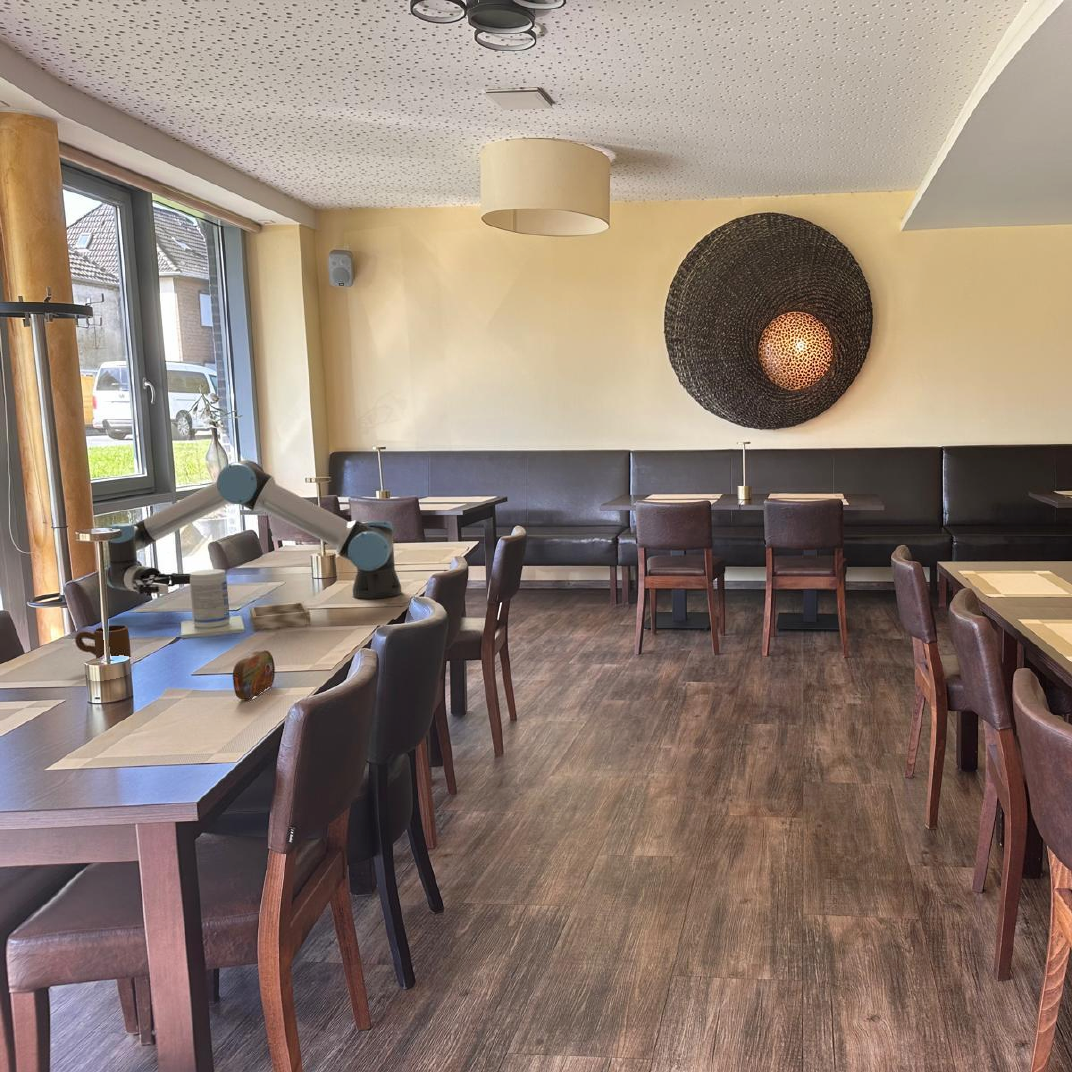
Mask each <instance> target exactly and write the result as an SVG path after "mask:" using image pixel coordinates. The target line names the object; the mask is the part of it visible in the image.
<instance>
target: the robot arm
mask: <svg viewBox="0 0 1072 1072" xmlns="http://www.w3.org/2000/svg"><path fill="white" fill-rule="evenodd" d="M228 504H231V505H240V506H243V507H244V508H246V509H249V510H250V511H252V512H259V511H264V512H265V513H268V514H269V515H271V516H274V517H275V518H278V519H279V520H281V521H284V522H286V523H287V524H289V525H291V526H293V527H295V528H297V529H299V530H301V531H302V532H305V533H307V534H308V535H311V536H312V537H314V538H316V539H319V540H320V541H322V542H324V543H326V544H328V545H330V546H332V547H333V548H335V549H336V553H337V555H338V556H341V557H342V558H344V559H346V560H348V561H349V562H350V563H352V565H353V566H355V567H356V574H355V579H354V581H353V582H354V583H353V586H352V596H353V597H354V598H356V599H366V600H367V599H368V600H371V599H385V598H392V597H395V596H396V597H397V596H399V595H401V594H402V584H401V582H400V579H399V577H398V574H397V571H396V567H395V551H394V547H395V546H394V529H393V524H392V522H391V521H389V520H388V521H386V520H385V521H383V520H382V521H381V520H380V521H364V522H363V521H362V522H361V521H359V520H357V519H356V520H355V519H354V520H352V521H348V520H346V519H344V518H343V517H341V516H338V515H337V514H334V513H332V512H330V511H329V510H327V509H325V508H323V507H321V506H319V505H317V504H315V503H314V502H311V501H310V500H308V499H305V498H304V497H302V496H299V495H298V494H296V493H294V492H293V491H291V490H289V489H286V488H285V487H283V486H280V485H278V484H277V483H276V481H275V478H274V476H272V475H270V474H269V473H267V472H265V470H264V469H263V467H262V466H261V465H260V464H259V463H257V462H255V461H253V460H247V459H246V460H240V461H236V462H231V463H229V464H227V465H225V467H223V468H222V469H221V470H220V471H219V474H218V476H217V478H216V481H215V482H213V483H211V484H209V485H207V486H205V487H204V488H202V489H200V490H197V491H196V492H194V493H192V494H190V495H188V496H186V497H184V498H182V499H180V500H179V501H177V502H174V503H173V504H171V505H169V506H167V507H165V508H163V509H161V510H159V511H158V512H155V513H154V514H151V515H150V516H148V517H146V518H144V519H142V520H140V521H139V522H136V523H134V524H132V523H131V522H129V523H128V522H125V523H122V522H121V523H120V522H119V523H114V524H113V523H112V524H110V525H108V526H107V528H112V529H120V530H121V531H122V536H121V537H119V538H117V539H113V540H109V541H108V540H107V546H108V547H107V549H108V556H109V565H108V566H107V567H106V568H105V570H106V569H107V583H106V584H107V586H109V587H111V588H114V589H117V590H120V591H130V592H131V591H132V592H137V594H138V595H139V594H140V595H144V594H146V596H148V597H149V596H152V594H158V595H165V596H167V595H169V587H174V586H177V585H190V573H179V572H178V573H177V572H175V573H174V572H172V573H168V574H167V573H161V571H160V570H159V569H158V568H155V567H151V566H143V565H138V554H137V552H138V551H139V550H144V549H145V548H147V547H148V546H149V545H151V544H153V543H156V542H157V541H159V540H161V539H163V538H165V537H166V536H169V535H170V534H173V533H174V532H176V531H178V530H181V529H182V528H184V527H186V526H187V525H190V524H192V523H194V522H196V521H198V520H200V519H202V518H203V517H205V516H208V515H209V514H211V513H212V512H215V511H217V510H219V509H221V508H223V507H225V506H227V505H228Z"/></svg>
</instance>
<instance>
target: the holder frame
mask: <svg viewBox="0 0 1072 1072" xmlns="http://www.w3.org/2000/svg"><path fill="white" fill-rule="evenodd" d="M310 613H311V612H310V611H309V608H308V607H307V605H306V604H305V602H304V601H303V602H301V601H299V602H291V603H281V604H271V605H258V606H250V607H249V614H250V615H249V616H250V622H251V624H252V625H251V626H252V628H253V630H254V629H260V630H264V629H263V628H270V629H278V628H277V627H280V628H287V627H286V626H290V627H296V626H295V625H300V626H306V625H305V624H310V625H311V614H310Z"/></svg>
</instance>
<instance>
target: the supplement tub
mask: <svg viewBox="0 0 1072 1072" xmlns="http://www.w3.org/2000/svg"><path fill="white" fill-rule="evenodd" d="M189 574H190V584H189V587H190V597H191V598H190V599H191V611H192V620H193V622H194V625H195V626H196V627H200V628H212V627H219V626H223V625H226V624H228V623H229V621H230V617H231V616H230V607H229V594H228V581H227V575H226V574H227V573H226V570H225V569H219V568H218V569H216V568H215V569H214V568H213V569H202V570H196V571H192V572H191V573H189Z"/></svg>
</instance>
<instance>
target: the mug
mask: <svg viewBox="0 0 1072 1072" xmlns="http://www.w3.org/2000/svg"><path fill="white" fill-rule="evenodd" d="M108 626H109V647H110V654H111V656H119V655H124V656H129V657H131V658H132V653H131V644H130V643H131V641H130V633H129V627H128V626H127V625H124V624H122V625H121V624H116V625H113V624H112V625H108ZM102 627H103V626H101V627H98V628H95V629H94V631H93V632H92V631H88V630H84V631H79V632H78V633H77V635H75V640H74V641H75V645H76V648H78V649H79V650H80V651H82V652H85V653H90V654H92V655H93V656H95V660H96V659H97V658H100V657H102V656H103V655H104V640H103V629H102ZM83 638H86V639H90V640H93V641H94V642H93V643H94V645H93V644H86V643H84V641H83Z"/></svg>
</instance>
